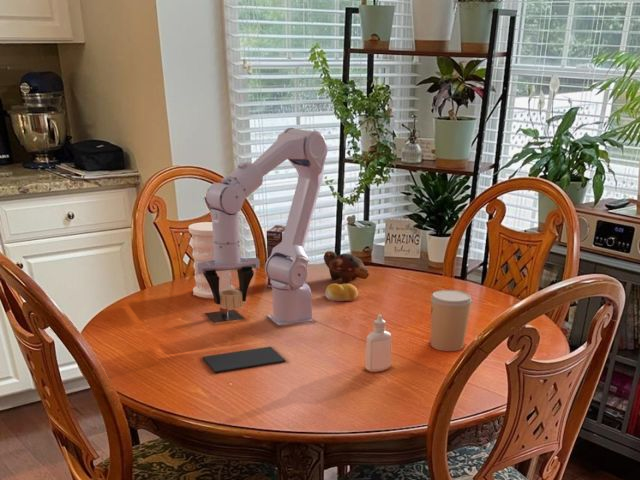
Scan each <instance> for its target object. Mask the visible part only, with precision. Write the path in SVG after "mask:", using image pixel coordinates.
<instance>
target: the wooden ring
mask: <svg viewBox="0 0 640 480" xmlns="http://www.w3.org/2000/svg"><path fill="white" fill-rule="evenodd" d="M219 295H220V304H217V306H218V308H219V309H220V308H223V309H228V310H237V309H240V308H242V307H243V306H244V301H243V298H242V292H241V291H239V289H236V288H235V289H234V290H233V289H226V290H220V291H219Z"/></svg>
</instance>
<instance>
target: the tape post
mask: <svg viewBox="0 0 640 480" xmlns="http://www.w3.org/2000/svg"><path fill="white" fill-rule="evenodd" d="M204 315H205V316H206V317H207V318H208V319H209V320H210V321H211V322H212V323H213V324H216V323H223V322H232V321H239V320H244V319H245V317H244V316H243V315H242V314H240V313H239V312H237V311H236V309H223V308H220V307H219V310H218V311H211V312H210V311H209V312H204Z"/></svg>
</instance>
